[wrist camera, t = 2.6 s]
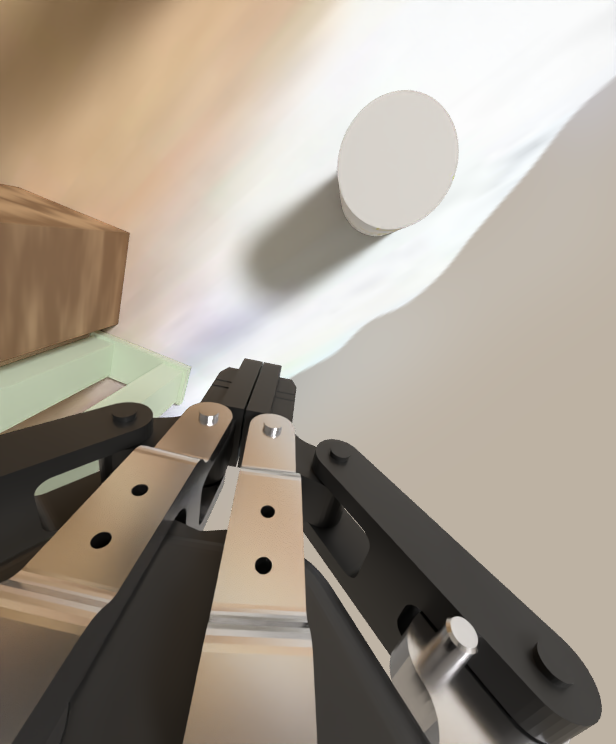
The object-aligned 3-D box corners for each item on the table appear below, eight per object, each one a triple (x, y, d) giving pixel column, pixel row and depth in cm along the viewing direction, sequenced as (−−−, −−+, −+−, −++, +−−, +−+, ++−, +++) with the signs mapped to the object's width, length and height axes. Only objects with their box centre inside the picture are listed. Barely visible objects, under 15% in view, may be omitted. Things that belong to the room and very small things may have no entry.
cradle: (92, 366, 44) (-133, 468, 24) (95, 328, 42) (-150, 405, 21) (182, 402, 45) (40, 533, 24) (191, 366, 42) (42, 478, 22)
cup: (367, 251, 34) (376, 252, 23) (325, 185, 33) (314, 152, 21) (433, 202, 32) (479, 177, 21) (393, 127, 30) (420, 56, 19)
